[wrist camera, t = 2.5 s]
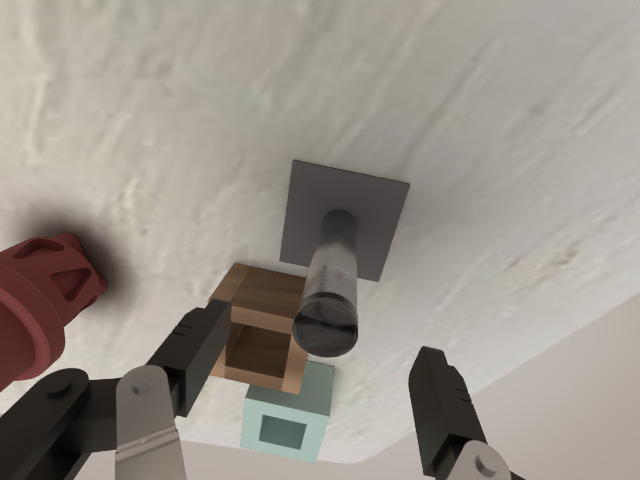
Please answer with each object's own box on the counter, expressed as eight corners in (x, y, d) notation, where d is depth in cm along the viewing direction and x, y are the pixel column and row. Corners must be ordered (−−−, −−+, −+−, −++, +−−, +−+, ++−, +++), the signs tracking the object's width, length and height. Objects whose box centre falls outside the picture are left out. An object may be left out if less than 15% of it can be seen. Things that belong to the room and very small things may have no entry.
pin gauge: (324, 205, 22) (297, 300, 12) (361, 212, 22) (365, 315, 12) (317, 238, 23) (288, 349, 13) (353, 246, 23) (349, 363, 13)
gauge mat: (293, 159, 21) (292, 160, 21) (409, 183, 21) (409, 184, 20) (280, 259, 24) (279, 260, 24) (378, 279, 24) (378, 282, 24)
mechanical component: (45, 186, 24) (150, 270, 26) (3, 258, 28) (99, 326, 30) (-220, 269, 13) (3, 398, 15) (-229, 369, 17) (-48, 461, 19)
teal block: (262, 350, 29) (245, 397, 25) (333, 366, 29) (329, 416, 25) (256, 397, 32) (240, 446, 28) (320, 412, 32) (315, 463, 28)
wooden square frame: (234, 263, 25) (207, 300, 21) (322, 281, 25) (314, 323, 21) (230, 329, 28) (206, 374, 24) (308, 346, 28) (299, 394, 24)
